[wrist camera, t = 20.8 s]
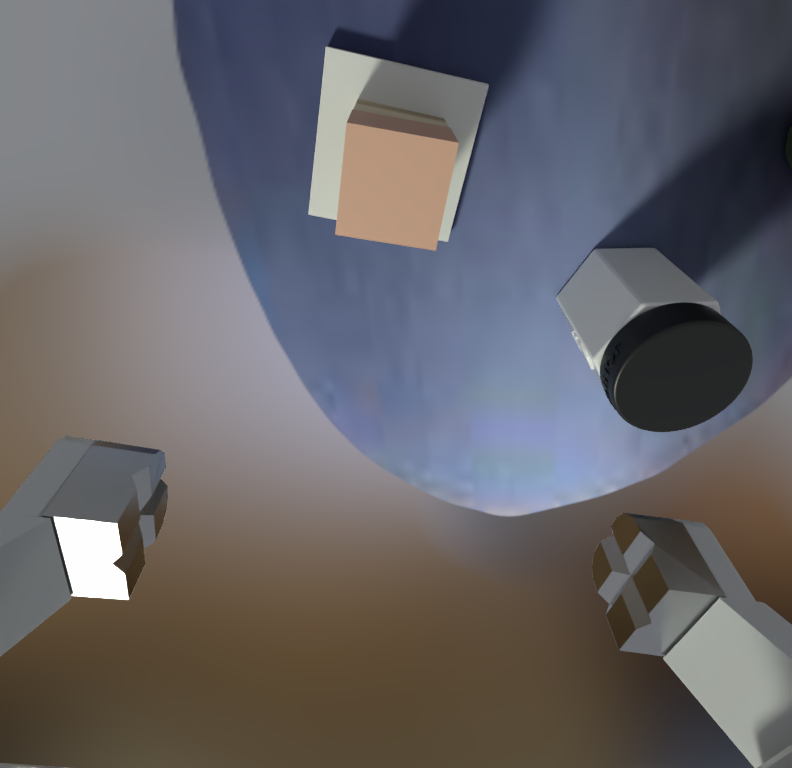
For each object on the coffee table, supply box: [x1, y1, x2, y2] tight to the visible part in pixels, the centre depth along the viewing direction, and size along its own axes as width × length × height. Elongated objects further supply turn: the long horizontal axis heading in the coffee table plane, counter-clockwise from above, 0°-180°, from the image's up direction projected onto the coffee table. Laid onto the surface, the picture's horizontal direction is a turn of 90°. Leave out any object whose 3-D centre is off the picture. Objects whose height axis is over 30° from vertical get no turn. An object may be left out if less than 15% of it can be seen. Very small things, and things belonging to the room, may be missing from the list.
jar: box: [556, 248, 753, 432], centre depth 36 cm, size 9×8×12 cm
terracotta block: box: [335, 109, 459, 251], centre depth 29 cm, size 6×6×4 cm
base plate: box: [308, 46, 489, 242], centre depth 34 cm, size 10×10×1 cm
